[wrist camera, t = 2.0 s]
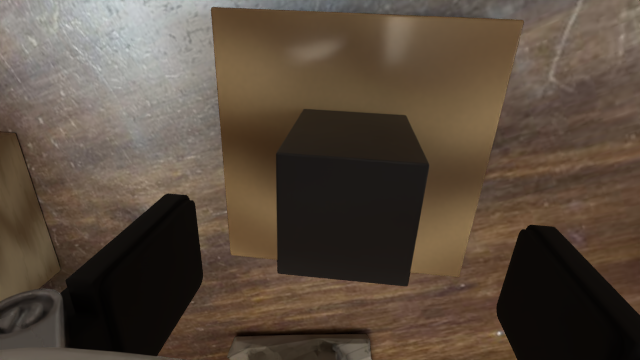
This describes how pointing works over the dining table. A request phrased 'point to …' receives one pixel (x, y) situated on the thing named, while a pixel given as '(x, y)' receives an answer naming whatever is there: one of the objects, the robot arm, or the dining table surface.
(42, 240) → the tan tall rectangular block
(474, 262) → the dining table surface
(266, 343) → the packaged product
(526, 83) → the dining table surface
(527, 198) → the dining table surface
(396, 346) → the dining table surface
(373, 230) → the block
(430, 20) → the tan flat square block
